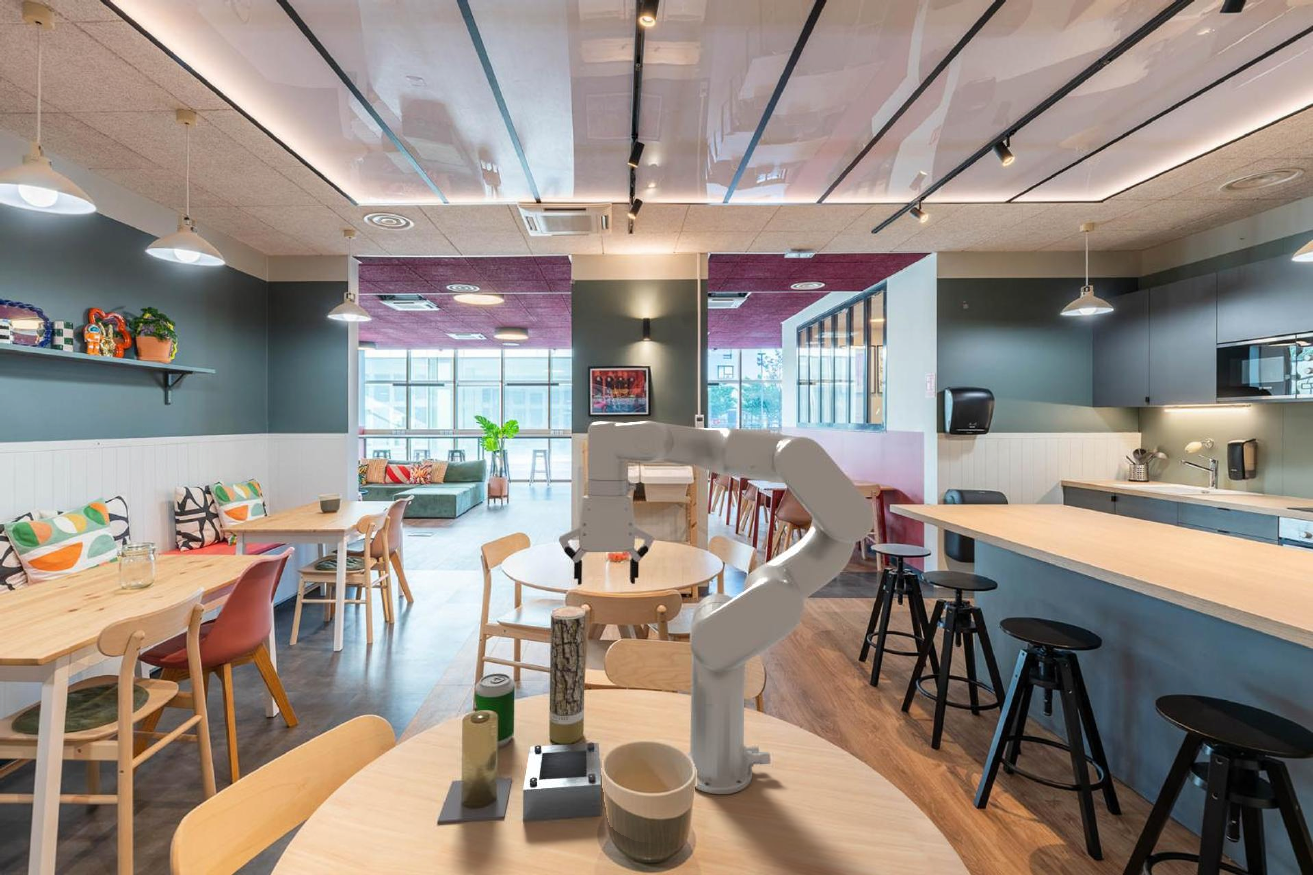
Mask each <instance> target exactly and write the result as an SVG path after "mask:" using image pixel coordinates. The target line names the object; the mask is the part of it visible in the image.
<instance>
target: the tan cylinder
mask: <svg viewBox="0 0 1313 875" xmlns="http://www.w3.org/2000/svg"><path fill="white" fill-rule="evenodd" d="M461 721H462V722H461V727H462V728H461V730H462V731H461V780H462V783H461V803H462V805H463V806H464V807H466V808H470V809H479V808H483V807H486V806H488V805H490V804H491V803H493V802H494V801H495V799H496V797H497V778H498V752H499V751H498V749H499V748H498V715H497V713H495V712H493V711H489V710H481V711H475V710H474V711H472V712H470V713H468V714H466V715H465V716H464V717H463V719H462V720H461Z"/></svg>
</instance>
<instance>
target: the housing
mask: <svg viewBox="0 0 1313 875" xmlns="http://www.w3.org/2000/svg"><path fill="white" fill-rule="evenodd" d="M529 748H530V749H529V754H528V760H527V766H526V773H525V779H524V783H523V788H522V789H523V791H522V793H523V794H522V795H523V796H522V806H523V807H522V822H535V821H536V822H537V821H549V820H550V821H551V820H563V819H575V818H577V819H578V818H589V817H590V818H591V817H600V816H601V810H602V809H601V806H602V805H601V801H602V800H601V799H602V797H601V796H602V795H601V794H602V793H601V792H602V791H601V790H602V781H601V779H602V778H601V763H600V762H601V759H600V743H599V742H593V741H592V742H586V743H571V744H554V745H540V744H539V745H535V746H530V747H529Z"/></svg>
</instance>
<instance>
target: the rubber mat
mask: <svg viewBox="0 0 1313 875" xmlns="http://www.w3.org/2000/svg"><path fill="white" fill-rule="evenodd" d="M512 781H513V776H510V777H508V776H507V777H497V797H496V799H495V801H494V802H493V803H491V804H490V805H488V806H486V807H483V808H479V809H470V808H466V807H464V806H463V805H462V803H461V783H462V779H461V780H452V781H451V784H450V786H449V790H448V791H447V792H448V793H447V795H446V797H445V800H444V802H443V806H442V807H441V809H440V810H441V811H440V813H439V816H438V818H437V822H436V823H437V824H448V823H449V824H450V823H451V824H452V823H462V822H474V821H475V822H478V821H488V820H489V821H492V820H500V819H501V820H503V819H505V815H506V811H507V805H508V802H509V796H510V792H511V786H512Z"/></svg>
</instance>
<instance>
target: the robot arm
mask: <svg viewBox="0 0 1313 875" xmlns="http://www.w3.org/2000/svg"><path fill="white" fill-rule="evenodd" d="M586 461H587V462H586V463H587V465H586V466H587V468H586V469H587V471H586V477H587V478H586V485H587V486H586V495H583V496H582V499H581V504H580V512H579V525H578V527H576V528H574V529H571V530H570V531H568V532H566V533H564V534H562V535H560V536H559V538H558V542H559V543H560V546H561V548H562V549H563V551H564V553H565V554H566V556H568V558H569V559H571V560H572V562H573V566H574V567H573V579H574V580H577V585H578V586H581V585H582V583H583V560H582V558H583V557H584V556H585V554H587V553H624V552H625V553H626V552H627V553H628V554H629V556H630V557H631V558H630V559H629V581H630V583H631V584H632V585H635V584H636V579H638V578H639V574H640V573H639V570H640V569H639V565H640V563H639V562H640V561H641V560H642V558H643V557H645V555H646V554H647V553H649V550H650V548H651V546H652V544H653V543H654V540H655V537H654V536H653V535H652V534H650V533H648V532H647V531H644V530H642V529H640V528H638V527H636V526H635V524H636V523H635V513H634V502H633V498H632V496H631V495H629V493H630V492H632V491H636V490H637V482H631V481H630V480H629V461H631V462H636V463H637V462H638V463H644V464H652V463H655V462H660V463H661V462H662V463H670V464H677V465H683V466H691V467H694V468H695V467H696V468H699V469H700V468H701V469H703V470H706V471H709V472H711V473H714V474H717V475H721V476H725V477H732V478H733V477H735V478H740V479H741V478H743V479H750V480H758V481H763V482H764V481H766V482H771V483H778V484H779V483H780V484H784V485H785V486H786V487H787V488H788V490H789V491H790V492H791V493H792V494H793V496H794V497H795V498H796V500H798V502H799V503H800V504H801V505H802V507H803V508H804V510H806V511H807V513H809V515H810V516H811V523H810V524H811V525H810V527H809V528H808V531H807V532H806V533H805V535H804V536H803V537H802V538H801V539H800V540H798V541H797V542H796V543H795V544H793V545H792V546H791V547H789V548H788V549H785V550H784V551H783V552H782V553H780V554H778V555H777V556H775V557H774V558H772V559H770V560H769V561H767V562H766V563H764V564H762V565H760V566H759V567H757V568H755V569H754V570H753V571H751V572H750V573H749V574H748V576H747V577H746V578H745V581H744V583H743V587H742V592H741V593H739V594H738V595H736V596H735V597H731V596H729V595H727V594H724V593H713V594H710V595H707V596H705V597H704V598H702V599H701V600H700V601H699V602H698V604H696V606H695V609H694V611H693V615H692V617H691V618H692V619H691V625H690V633H689V644H690V650H691V686H690V687H691V689H690V743H689V744H690V745H689V747H690V749H689V753H687V754H686V755H688V756H690V758H691V760H693V762H694V764H695V767H696V769H697V786H696V788H695V789H697V791H698V790H699V791H701V792H704V793H707V794H713V795H730V794H733V793H734V794H735V793H737V792H740V791H741V790H744V789H745V788H746V787H748V786H749V785H750V783H751V781H752V779H753V767H754V765H770V764H771V755H770V752H769V751H760V750H759V746H757V745H756V746H747V747H746V745H745V742H744V741H745V740H744V738H745V694H746V693H745V692H746V663H747V662H749V661H750V660H751V659H753V658H755V657H756V656H758V655H759V654H761V653H763V652H764V651H766V650H768V649H769V648H771V647H772V646H774V645H775V644H777V643H779V642H780V641H782V640H783V639H785V638H786V637H788V636H789V635H790V634H791V633H792V632H793V631H794V630H795V629H796V628H797V627H798V626H799V624H800V623H801V621H802V618H803V616H804V612H805V600H806V599H807V598H809V597H810V596H811V595H813V594H815V593H816V592H818V591H819V590H820V589H821V588H823V587H824V586H826V585H827V584H829V583H830V582H831V581H832V580H834V579H835V578H836V577H838V576H839V575H840V573H842V572H843V570H844V569H845V568H846V566H847V565H848V563H849V561H850V560H851V558H852V555H853V552H854V550H855V546H856V543H857V542H860V541H862V540H864V539H866V538H867V536H868V535H869V534H870V533H871V531H872V529H873V528H874V523H875V514H874V509H873V507H872V505H871V502H870V501H869V500H868V499H867V497H866V496H865V495H864V494H863V493H862V491H861V490H860V489H859V488H858V486H856V485H855V483H854V482H853V481H852V480H851V479H850V478H849V476H848V475H846V473H845V472H844V471H843V470H842V469H841V468H840V466H839V465H838V464H837V463H836V462H835V460H834V459H832V457H831V456H830V454H828V452H827V451H826V450H825V449H824V448H823V447H822V446H821V445H820V443H819V442H817V441H815V440H814V439H813V438H809V437H805V436H795V435H794V436H793V435H786V434H780V433H779V434H778V433H769V432H762V431H755V430H754V431H753V430H746V429H739V428H731V427H714V428H710V427H707V428H705V427H695V426H686V425H678V424H670V423H664V422H658V421H653V420H643V421H635V422H626V423H625V422H621V421H594V422H592V423H591V424H589V426H588V428H587V460H586ZM576 537H578V545H579V548H578V549H577V550H574V548H573V547H572V546H571V545H570V543H569V541H570V540H572V539H573V540H574V539H575V538H576ZM636 537H638V538H640V539H642V540H644V541H643V544H642V545H641V546H640V547H639V548H638V550H636V548H635V543H636Z"/></svg>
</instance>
